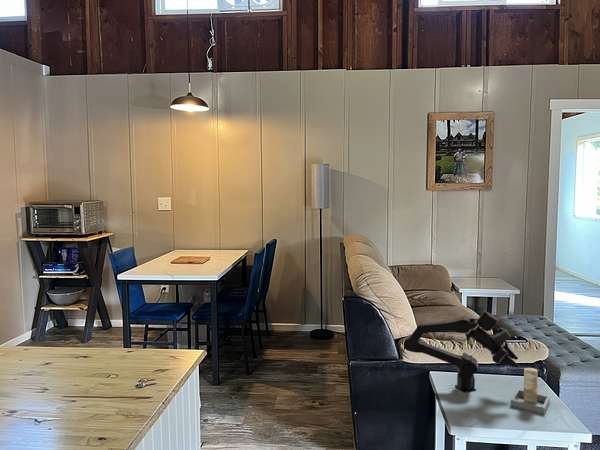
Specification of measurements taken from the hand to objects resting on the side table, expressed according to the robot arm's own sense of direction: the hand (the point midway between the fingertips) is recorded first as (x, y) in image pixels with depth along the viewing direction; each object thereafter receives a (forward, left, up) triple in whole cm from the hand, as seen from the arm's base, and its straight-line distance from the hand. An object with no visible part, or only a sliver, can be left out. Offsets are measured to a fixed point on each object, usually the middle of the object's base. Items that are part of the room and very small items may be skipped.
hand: (517, 362), depth 187 cm
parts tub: (0, -7, -14) cm, 16 cm away
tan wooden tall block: (0, -7, -14) cm, 16 cm away
